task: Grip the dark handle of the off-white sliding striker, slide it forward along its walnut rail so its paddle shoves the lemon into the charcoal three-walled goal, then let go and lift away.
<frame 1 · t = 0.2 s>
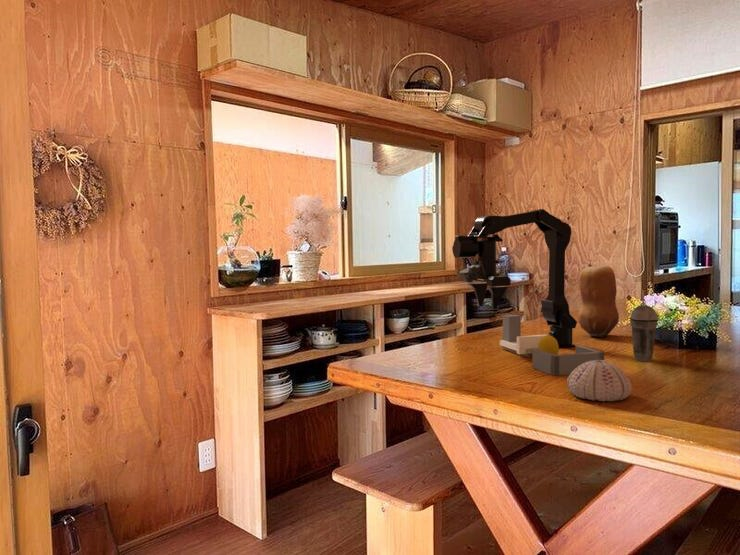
hand: (487, 307, 177), 14 cm above the table, fingers open, 9 cm apart
rail: (519, 352, 176), on the table
lemon: (548, 363, 161), on the table
beverage cup: (643, 360, 163), on the table
butternut squash: (598, 337, 201), on the table
striker: (520, 333, 175), point 6 cm above the table, slide at 0.0 cm
sea urchin shell: (598, 397, 127), on the table
goal: (567, 369, 153), on the table
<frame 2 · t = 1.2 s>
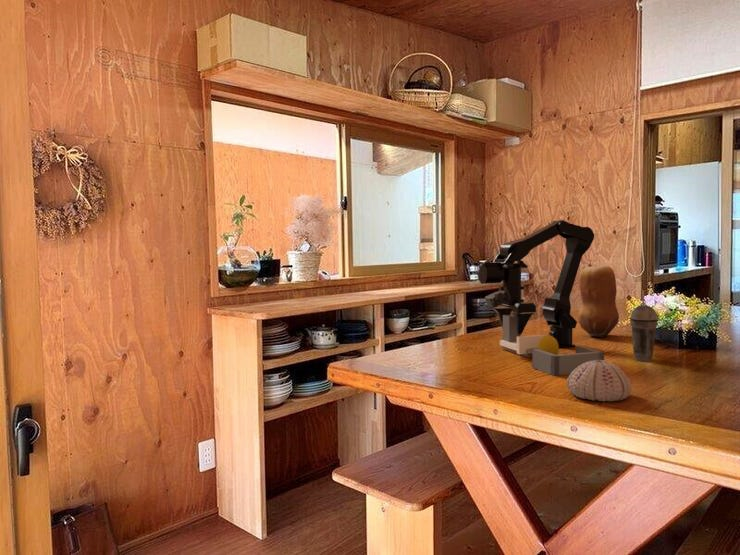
hand: (511, 332, 180), 5 cm above the table, fingers open, 9 cm apart
nothing on the table moved.
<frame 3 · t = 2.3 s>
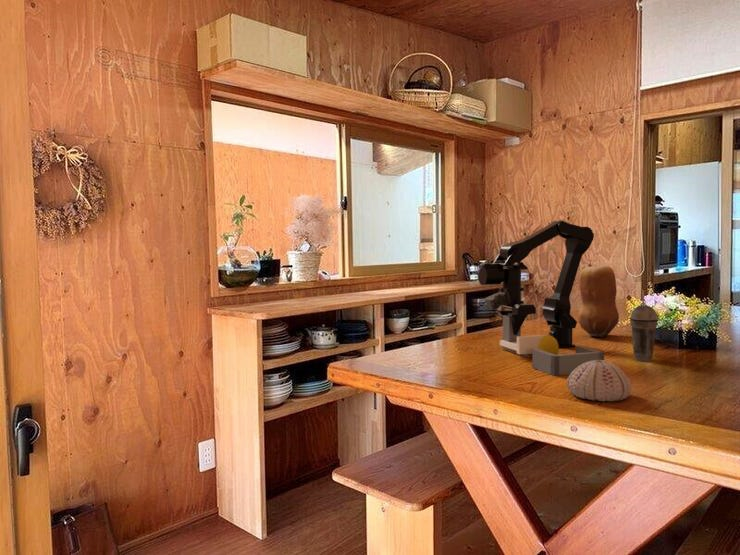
hand: (511, 333, 180), 5 cm above the table, fingers closed on striker, 4 cm apart
striker: (520, 333, 175), point 6 cm above the table, slide at 0.0 cm, touching gripper
everything else where it was.
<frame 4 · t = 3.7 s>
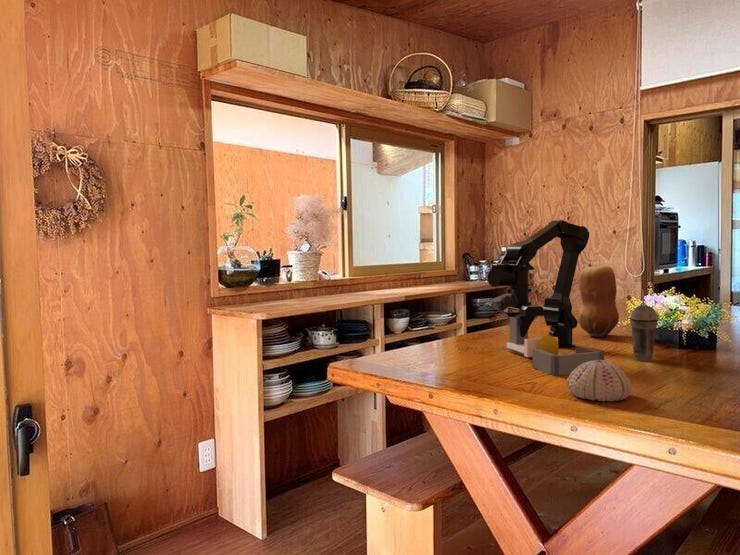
hand: (518, 335, 176), 5 cm above the table, fingers closed on striker, 4 cm apart
lemon: (548, 363, 161), on the table, touching striker
striker: (528, 335, 171), point 6 cm above the table, slide at 4.2 cm, touching gripper, lemon
everything else where it was.
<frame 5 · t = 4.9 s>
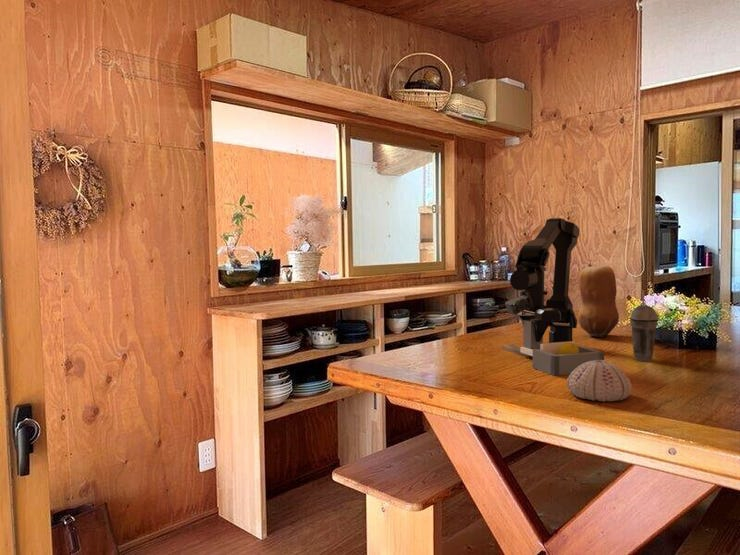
hand: (533, 340, 168), 5 cm above the table, fingers open, 4 cm apart
lemon: (561, 364, 155), point 1 cm above the table, touching goal, striker
striker: (543, 339, 163), point 6 cm above the table, slide at 12.3 cm, touching gripper, lemon
everything else where it was.
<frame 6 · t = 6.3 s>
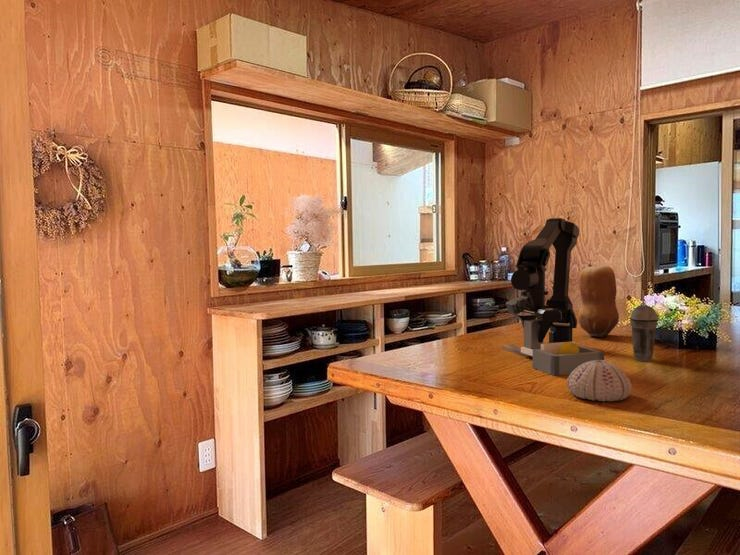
hand: (534, 340, 168), 5 cm above the table, fingers open, 6 cm apart
lemon: (562, 365, 155), point 1 cm above the table, touching goal
striker: (544, 339, 163), point 6 cm above the table, slide at 12.5 cm
everything else where it was.
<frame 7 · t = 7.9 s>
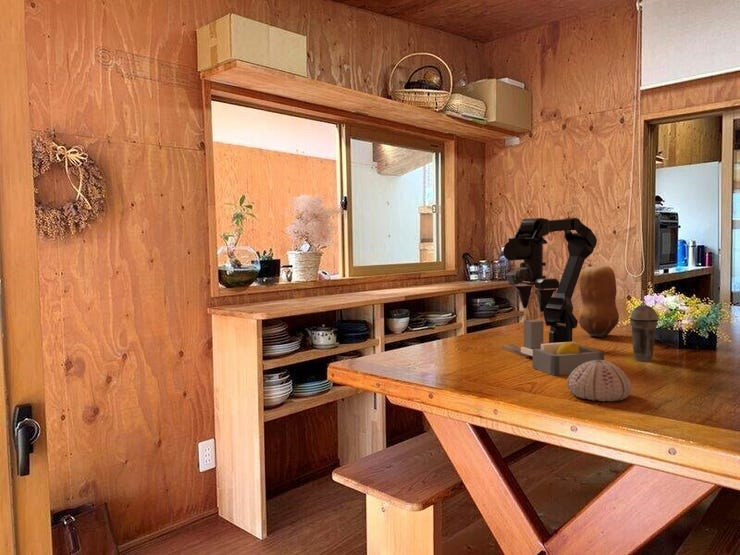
hand: (533, 309, 177), 13 cm above the table, fingers open, 9 cm apart
nothing on the table moved.
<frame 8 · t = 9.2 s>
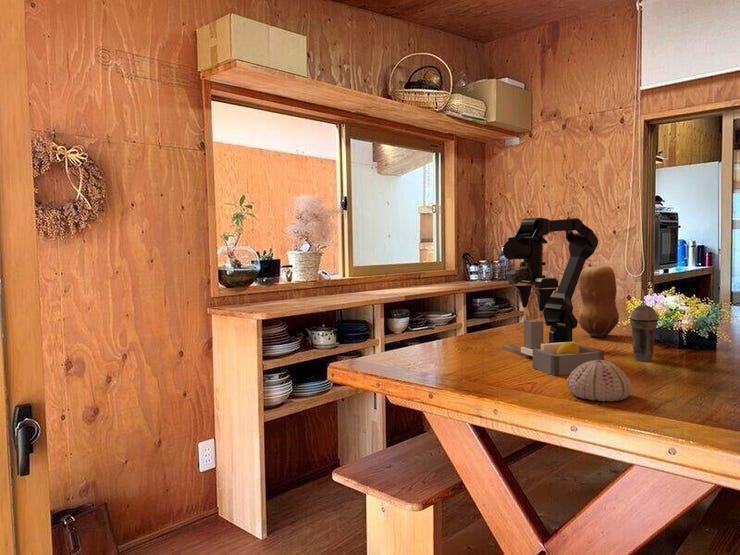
hand: (532, 309, 177), 13 cm above the table, fingers open, 9 cm apart
nothing on the table moved.
at the end: lemon inside the target area (2.8 cm from its centre), point 0.7 cm above the table; striker slide at 12.5 cm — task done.
